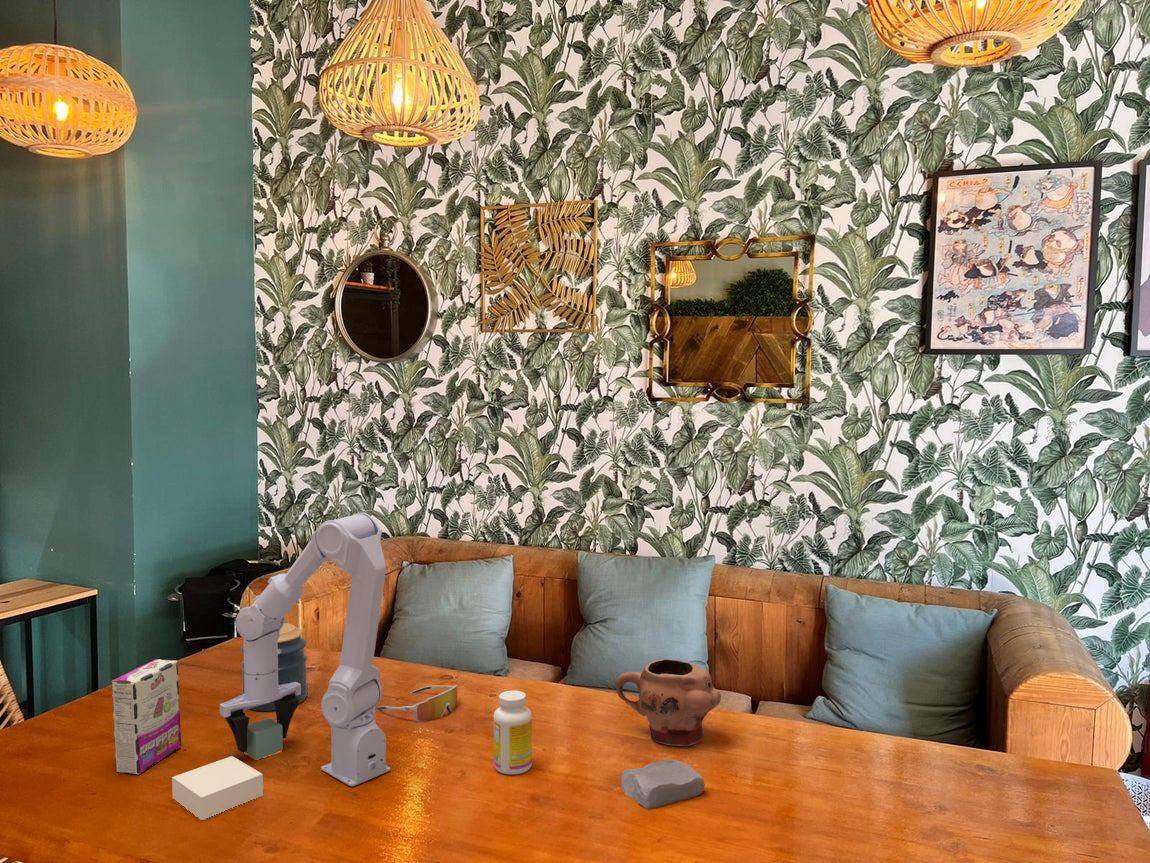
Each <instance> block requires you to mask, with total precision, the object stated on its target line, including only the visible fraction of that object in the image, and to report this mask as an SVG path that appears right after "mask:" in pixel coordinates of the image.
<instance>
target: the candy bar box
mask: <svg viewBox="0 0 1150 863" xmlns="http://www.w3.org/2000/svg"><path fill="white" fill-rule="evenodd" d="M178 662H179V661H178V660H173V659H161V658H160V659H159V658H158V659H153V660H152V661H150V662H148V663H146V664H143V665H141V666H139V667H137V668H135V669H133V670H131V671H129V672H127V673H125V674H122V675H121V676H119V677H117V678H115V679H113V680H111V698H112V716H113V718H112V719H113V735H114V757H115V759H114V760H115V771H116V773H117V772H119V773H118V774H123V773H129V774H128V775H134V774H137V775H138V776H139V774H140V775H141V773H142V772H143V773H144V771H145V770H146V771H147V769H148V768H149V767H151V766H152V765H154V764H155V763H157V762H158V763H160V762H161V761H163V760H164V759H166V758H167V757H169V756H170V755H172V754H173V753H174V751H175V750H176V751H177V749H178V750H179V749H180V748H182V733H181V732H182V731H181V729H182V728H181V713H180V712H181V711H180V709H181V708H180V686H179V668H178V667H179V665H178V664H179V663H178ZM176 751H175V752H176ZM171 753H172V754H171ZM169 754H170V755H169ZM168 755H169V756H168ZM165 757H166V758H165ZM163 758H164V759H163ZM162 759H163V760H162ZM160 760H161V761H160ZM159 761H160V762H159ZM158 763H157V764H158ZM155 765H156V764H155ZM155 765H154V766H155ZM152 767H153V766H152ZM152 767H151V768H152ZM149 769H150V768H149ZM149 769H148V770H149ZM146 771H145V772H146ZM143 773H142V774H143Z"/></svg>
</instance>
